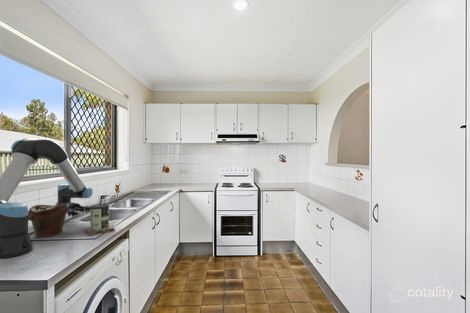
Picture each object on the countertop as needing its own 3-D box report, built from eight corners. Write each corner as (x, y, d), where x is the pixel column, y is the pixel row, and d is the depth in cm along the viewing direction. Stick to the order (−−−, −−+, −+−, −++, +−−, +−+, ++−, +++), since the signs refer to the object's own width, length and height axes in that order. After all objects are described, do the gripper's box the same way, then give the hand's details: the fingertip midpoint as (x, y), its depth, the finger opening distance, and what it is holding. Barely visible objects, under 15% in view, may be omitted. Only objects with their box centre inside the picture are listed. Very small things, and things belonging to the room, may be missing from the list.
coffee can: (107, 225, 161) (107, 203, 161) (110, 229, 153) (110, 206, 153) (89, 227, 156) (89, 205, 156) (90, 232, 147) (90, 208, 147)
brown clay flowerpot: (27, 232, 150) (27, 202, 149) (67, 227, 162) (67, 199, 162) (25, 241, 136) (25, 208, 135) (69, 234, 148) (69, 204, 147)
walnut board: (88, 235, 146) (88, 232, 146) (85, 230, 154) (85, 228, 154) (114, 230, 155) (114, 228, 155) (109, 226, 163) (109, 224, 163)
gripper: (90, 210, 179) (110, 213, 169) (52, 218, 157) (72, 222, 147) (90, 199, 179) (110, 202, 169) (52, 206, 157) (71, 209, 147)
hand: (92, 211), depth 158 cm, fingers open, 13 cm apart
